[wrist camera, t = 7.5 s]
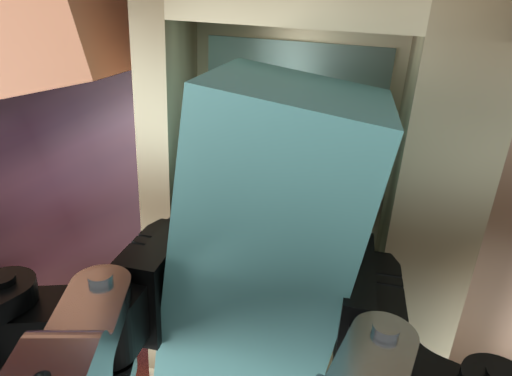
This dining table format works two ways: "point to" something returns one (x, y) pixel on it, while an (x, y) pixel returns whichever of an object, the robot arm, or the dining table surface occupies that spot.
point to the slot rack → (411, 146)
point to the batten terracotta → (61, 43)
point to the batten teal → (269, 217)
